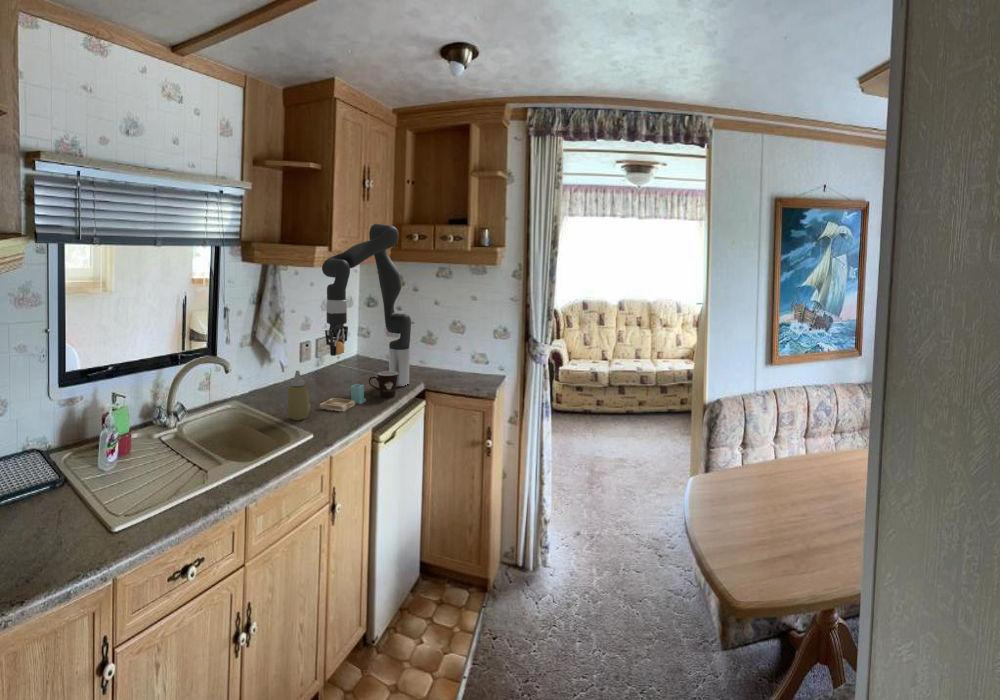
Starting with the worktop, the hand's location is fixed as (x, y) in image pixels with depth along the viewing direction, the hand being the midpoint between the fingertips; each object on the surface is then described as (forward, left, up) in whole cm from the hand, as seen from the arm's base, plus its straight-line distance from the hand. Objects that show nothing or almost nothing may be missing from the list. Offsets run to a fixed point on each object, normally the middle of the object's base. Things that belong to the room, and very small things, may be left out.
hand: (337, 354), depth 223 cm
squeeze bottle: (+18, -6, -22) cm, 29 cm away
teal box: (-9, +4, -22) cm, 24 cm away
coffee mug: (-22, +10, -22) cm, 33 cm away
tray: (0, 0, -22) cm, 22 cm away
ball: (0, 0, +2) cm, 2 cm away
